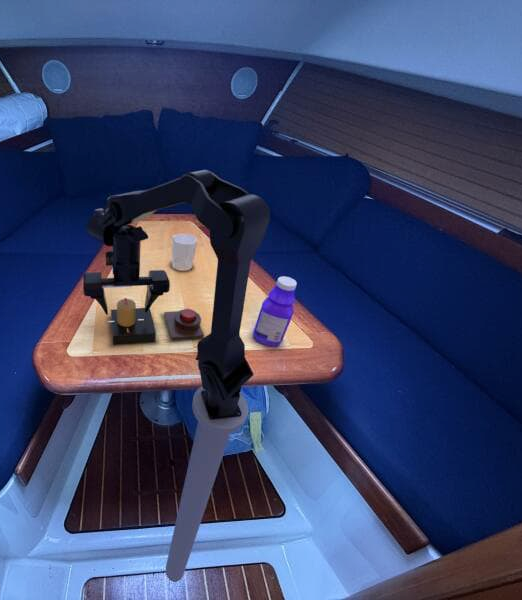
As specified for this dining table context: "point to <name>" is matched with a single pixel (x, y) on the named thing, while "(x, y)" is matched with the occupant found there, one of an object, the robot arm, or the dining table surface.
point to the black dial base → (133, 329)
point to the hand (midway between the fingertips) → (126, 312)
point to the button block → (183, 327)
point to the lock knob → (126, 312)
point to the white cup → (183, 251)
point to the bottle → (276, 313)
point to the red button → (188, 315)
